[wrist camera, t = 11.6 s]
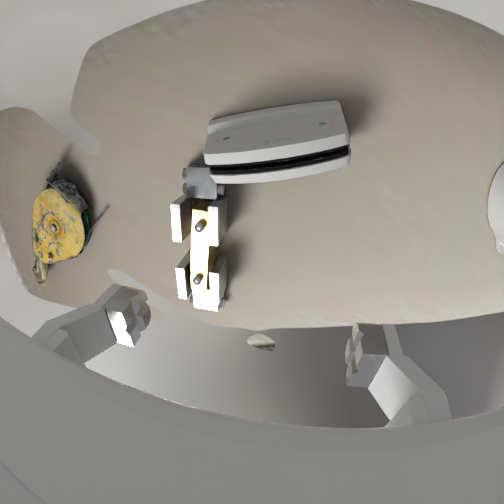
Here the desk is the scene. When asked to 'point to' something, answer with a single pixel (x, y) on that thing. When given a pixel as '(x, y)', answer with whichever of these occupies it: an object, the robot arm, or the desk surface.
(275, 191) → the desk surface
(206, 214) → the brass block with peg
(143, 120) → the desk surface
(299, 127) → the grey half-round block
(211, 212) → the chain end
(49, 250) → the pulley block
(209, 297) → the chain end
